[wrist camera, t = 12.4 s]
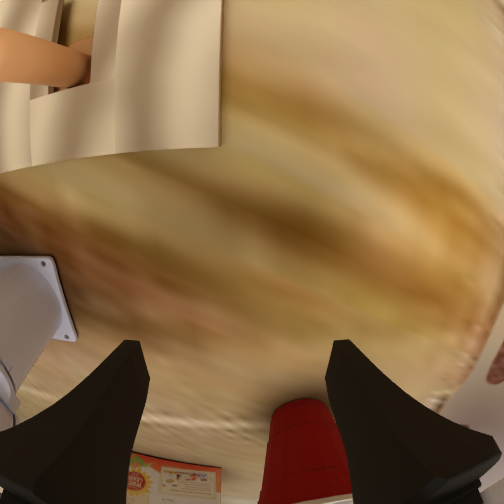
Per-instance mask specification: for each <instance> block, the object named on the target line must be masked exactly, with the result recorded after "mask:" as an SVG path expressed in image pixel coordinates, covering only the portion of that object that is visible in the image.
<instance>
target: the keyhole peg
mask: <svg viewBox="0 0 504 504" xmlns="http://www.w3.org/2000/svg"><path fill="white" fill-rule="evenodd" d="M92 47H93V38H85V39H81V40H79V41H77V42H75V43H73V44H72V45H70V46H69V47H66V46H63V45H60V44H57V43H54V42H51V41H48V40H45V39H42V38H39V37H35V36H32V35H29V34H25V33H22V32H18V31H15V30H11V29H7V28H0V82H10V83H24V84H36V85H45V86H54V93H55V92H58V91H62V90H66V89H69V88H73V87H77V86H81V85H85V84H90V78H91V60H92Z"/></svg>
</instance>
